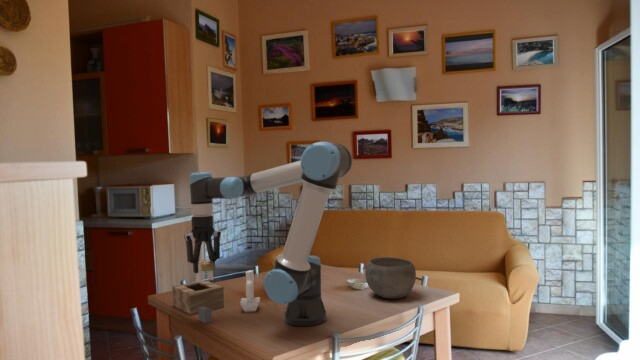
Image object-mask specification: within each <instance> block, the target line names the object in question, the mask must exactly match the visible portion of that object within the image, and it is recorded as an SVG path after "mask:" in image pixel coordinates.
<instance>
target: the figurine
mask: <svg viewBox="0 0 640 360" xmlns="http://www.w3.org/2000/svg"><path fill="white" fill-rule="evenodd" d="M254 273H255V272H254V270H253V269H251V270H250V269H249V270H247V271H245V276H246V278H245V279H246V281H245V282H246V283H245V296H246V297H241V299H240V302H239V305H240V307H241V308H242V311H243V312H245V313H247V312H256V311H257V309H258V306H259V304H260V300H261V297H259V296H258V297H254V295H255V294H254V282H255V279H254V278H255V276H254Z"/></svg>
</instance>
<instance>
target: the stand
mask: <svg viewBox="0 0 640 360" xmlns="http://www.w3.org/2000/svg"><path fill="white" fill-rule="evenodd" d="M198 321H200V322H202V323H204V324H209V323H212V310H211V309H209V308H207V307H200V308H199V313H198Z"/></svg>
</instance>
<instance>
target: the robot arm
mask: <svg viewBox="0 0 640 360" xmlns="http://www.w3.org/2000/svg"><path fill="white" fill-rule="evenodd" d="M352 166H353V155H352V153H351V151H350V150H349V148H347V147H346V146H344V145H343V144H341V143H336V142H335V143H333V142H329V141H317V142H314V143H312V144H310V145H308V146H307V147H306V148H305V149H304V150H303V152H302V154H301V158H300V160H297V161H294V162H290V163H286V164H283V165H278V166H275V167H272V168H269V169H265V170H261V171H258V172H254V173H251V174H247V175H243V176H241V175H240V176H224V177H223V176H221V177H213V176H212V173H211V172H204V171H203V172H192V173H191V174H190V175H189V191H190V212H191V215H192V217H190V218H191V230H190V233H188V234H185V235H184V236H183V238H184V240H185V244H186V245H185V246H186V255H187V256H186V258H187V263H189V264H192V267H193V273H194V274H195V282H199V283H200V282H201V281H202V271H201V264H199V261H200V255H201V249H202V244H203V243H204V244H205V247H206V252H207V255H208V259H209V260H208V261H209V262H213V263H214V265H215V266H216V262H217V260H218V259H220V258H221V250H220V249H221V248H220V246H221V242H220V241H221V240H220V239H221V234H222V232H221V231H219V230H218V231H217V230H215V228H214V216H213V214H214V208H213V200H214V199H215V200H216V199H218V200H221V199H222V200H223V199H225V200H226V199H228V200H233V199H239V198H241V197H252V196H254V195H257V194H260V193H263V192H269V191H271V190H276V189H279V188H283V187H286V186H292V185H295V184H299V183H302V184H303V185H302V186H303V187H302V189H301V193H300V196H299V200H298V202H297V206H296V209H295V212H294V216H293V219H292V221H291V226H290V228H289V230H288V235H287V238H286V242H285V245H284V247H283V251H282V253H280V254H278V255H276V257H275V261H274V264H273V268H272V269H271V270H269V271H268V272H267V273H266V275H265V277H264V278H263V279H264V280H263V288H264V291H265V292H266V295H267V297H268V298H269V299H270V301H272V302H274V303H276V304H278V305H286V307H285V312H284V315H283V317H284V318H283V319H284V320H283V321H284V322H285V323H286V324H288V325H290V326H295V327H313V326H316V325H321V324H323V323H325V322H326V320H327V310H326V308H325V305H324V301H323V298H322V271H321V270H322V264H321V259H320V256H317V255H311V251H312V248H313V246H314V245H313V244H314V242H315V239H316V236H317V233H318V229H319V226H320V223H321V220H322V217H323V213H324V211H325V208H326V205H327V201H328V198H329V195H330V193H331V192H333V191H335V190H336V189H337V185H338V183H339V179H340V178H342V177H344V176H346V175H347V174H348V173H349V172H350V170H352ZM212 237H213V239H212ZM193 238H194V245H193ZM212 241H213V242H212ZM193 246H194V247H193ZM193 248H194V249H193ZM207 279H208V280H209V281H214V270H211V271H207Z"/></svg>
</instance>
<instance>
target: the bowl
mask: <svg viewBox="0 0 640 360" xmlns="http://www.w3.org/2000/svg"><path fill="white" fill-rule="evenodd" d="M364 272H365V273H364V276H365V280H366V283H367V285H368V287H369V288H370V290H371V291H372V292H374V293H375V294H376V295H378V296H380V297H381V298H384V299H389V300H397V299H398V300H399V299H402V298H403V297H406V296H407V295H408V294H410V292H412V290H413V288H414V286H415V283H416V280H417V277H416V276H417V275H416V274H417V273H416V267H415V265H414V263H413V261H411V260H408V259H405V258H400V257H393V256H383V257H382V256H381V257H374V258H370V259H369V260H368V262H367V264H366V265H365V271H364Z"/></svg>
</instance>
